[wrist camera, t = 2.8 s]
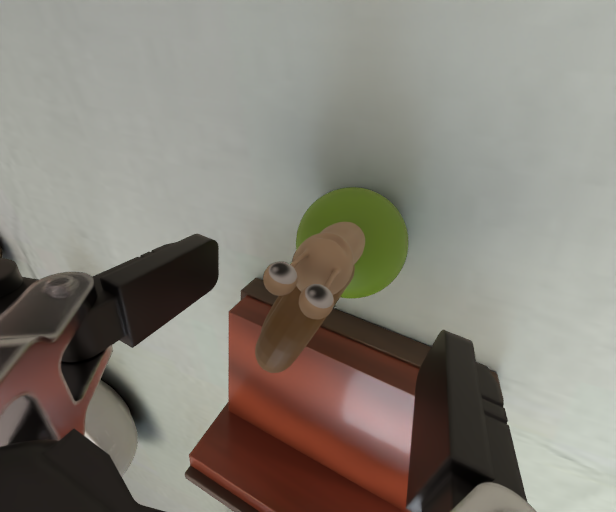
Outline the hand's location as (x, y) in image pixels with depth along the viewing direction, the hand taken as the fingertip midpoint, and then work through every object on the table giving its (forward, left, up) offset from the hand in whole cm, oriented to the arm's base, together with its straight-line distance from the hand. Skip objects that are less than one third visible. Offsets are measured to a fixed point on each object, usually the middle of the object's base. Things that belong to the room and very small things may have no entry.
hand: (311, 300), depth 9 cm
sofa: (+14, +2, -8) cm, 16 cm away
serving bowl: (+44, -34, -8) cm, 56 cm away
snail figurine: (0, 0, -8) cm, 8 cm away
